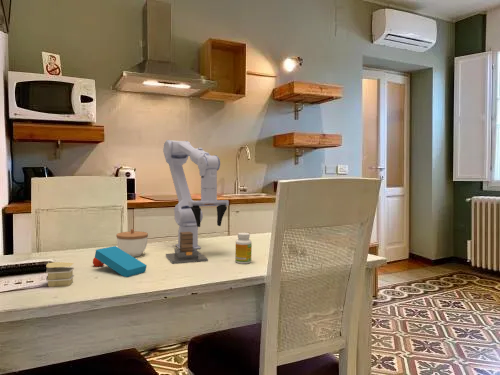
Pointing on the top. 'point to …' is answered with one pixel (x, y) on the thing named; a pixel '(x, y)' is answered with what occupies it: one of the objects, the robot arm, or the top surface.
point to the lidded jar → (132, 242)
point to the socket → (186, 256)
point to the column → (186, 241)
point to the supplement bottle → (243, 248)
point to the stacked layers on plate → (59, 274)
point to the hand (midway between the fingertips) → (208, 226)
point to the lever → (118, 261)
